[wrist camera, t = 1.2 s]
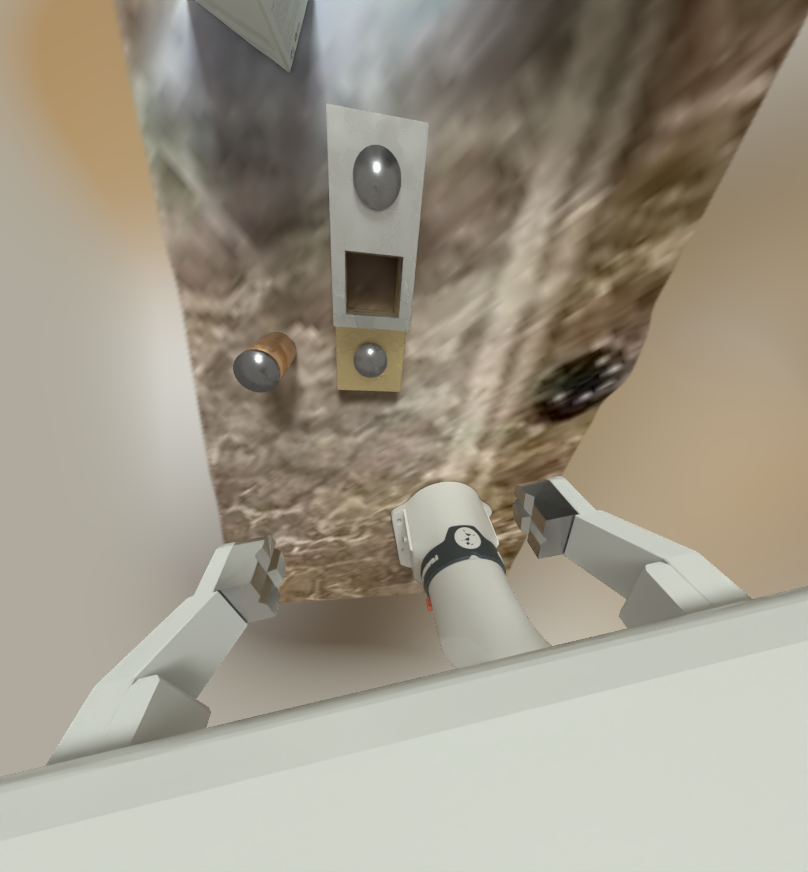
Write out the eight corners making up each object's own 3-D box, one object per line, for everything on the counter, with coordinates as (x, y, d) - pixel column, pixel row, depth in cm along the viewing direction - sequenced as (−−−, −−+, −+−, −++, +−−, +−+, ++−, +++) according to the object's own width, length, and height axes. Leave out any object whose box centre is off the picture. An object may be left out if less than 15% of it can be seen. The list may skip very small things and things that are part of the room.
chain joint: (398, 385, 39) (404, 402, 34) (338, 383, 38) (335, 400, 33) (417, 146, 27) (430, 118, 22) (331, 131, 26) (325, 98, 21)
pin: (297, 366, 36) (281, 392, 28) (264, 364, 35) (237, 391, 28) (294, 333, 34) (275, 352, 26) (259, 331, 33) (229, 350, 26)
